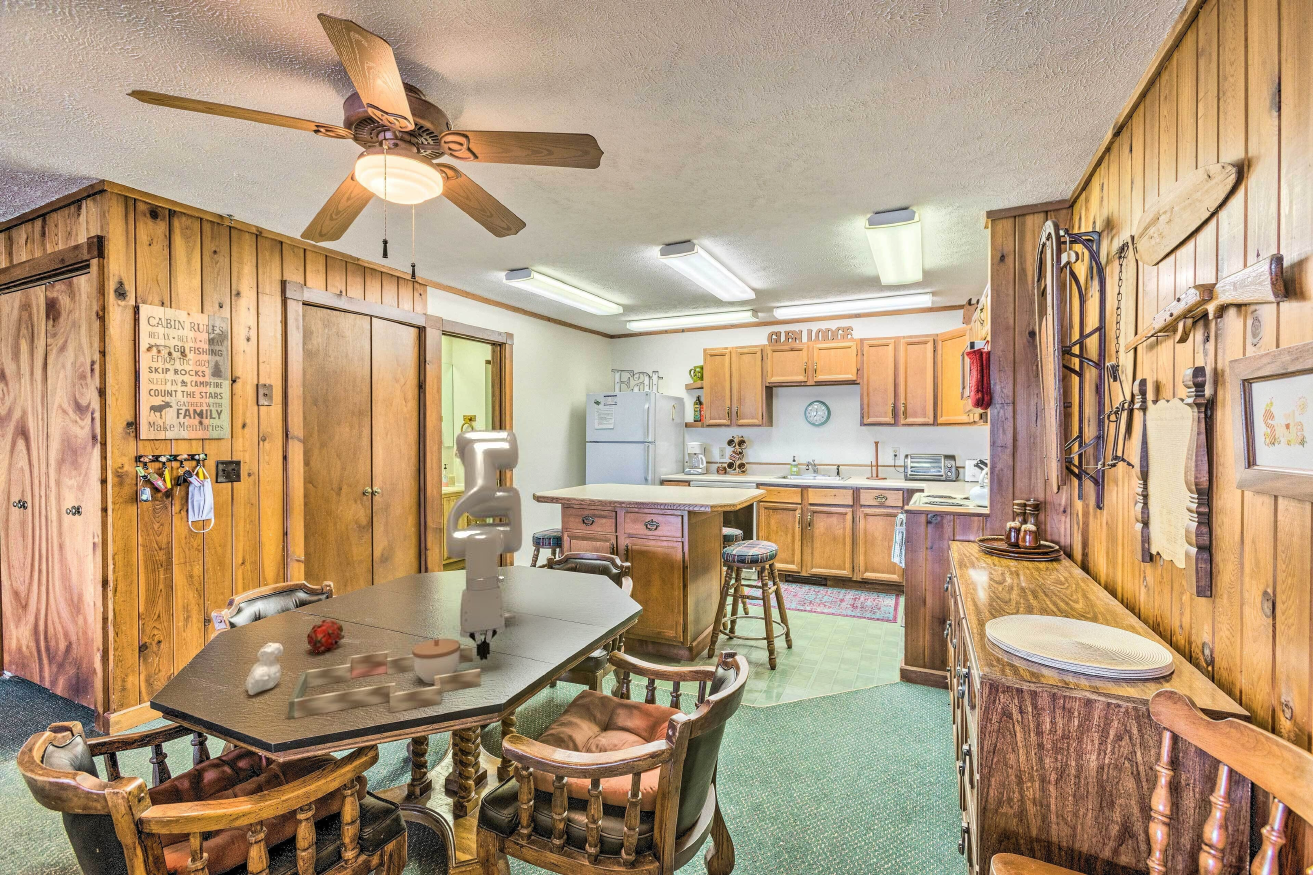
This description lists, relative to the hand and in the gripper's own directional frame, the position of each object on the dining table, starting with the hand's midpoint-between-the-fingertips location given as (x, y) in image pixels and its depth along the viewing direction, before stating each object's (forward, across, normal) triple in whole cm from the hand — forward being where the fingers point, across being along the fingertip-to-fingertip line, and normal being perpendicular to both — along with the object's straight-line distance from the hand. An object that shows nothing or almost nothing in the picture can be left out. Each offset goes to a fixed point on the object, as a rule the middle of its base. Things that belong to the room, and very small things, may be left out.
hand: (483, 657), depth 145 cm
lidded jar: (+3, +11, 0) cm, 11 cm away
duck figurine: (+3, +48, -12) cm, 49 cm away
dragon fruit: (+3, +38, -35) cm, 52 cm away
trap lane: (+3, +21, 0) cm, 21 cm away
